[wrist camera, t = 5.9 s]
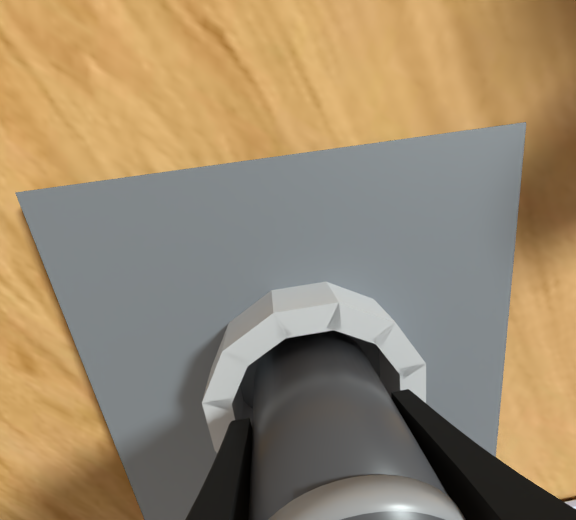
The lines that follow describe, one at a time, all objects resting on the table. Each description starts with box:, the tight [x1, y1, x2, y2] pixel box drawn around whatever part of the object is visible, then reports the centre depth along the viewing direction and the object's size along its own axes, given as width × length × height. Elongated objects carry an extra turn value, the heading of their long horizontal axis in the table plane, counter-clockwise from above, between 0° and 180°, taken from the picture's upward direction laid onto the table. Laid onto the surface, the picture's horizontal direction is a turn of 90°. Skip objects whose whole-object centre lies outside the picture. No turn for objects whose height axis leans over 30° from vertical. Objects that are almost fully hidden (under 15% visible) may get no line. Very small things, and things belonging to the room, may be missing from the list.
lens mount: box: [16, 122, 526, 520], centre depth 12 cm, size 18×18×3 cm
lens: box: [249, 330, 466, 520], centre depth 9 cm, size 5×5×6 cm
